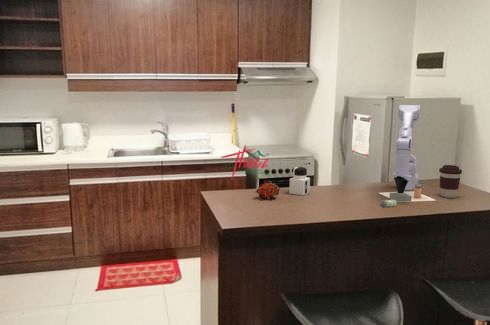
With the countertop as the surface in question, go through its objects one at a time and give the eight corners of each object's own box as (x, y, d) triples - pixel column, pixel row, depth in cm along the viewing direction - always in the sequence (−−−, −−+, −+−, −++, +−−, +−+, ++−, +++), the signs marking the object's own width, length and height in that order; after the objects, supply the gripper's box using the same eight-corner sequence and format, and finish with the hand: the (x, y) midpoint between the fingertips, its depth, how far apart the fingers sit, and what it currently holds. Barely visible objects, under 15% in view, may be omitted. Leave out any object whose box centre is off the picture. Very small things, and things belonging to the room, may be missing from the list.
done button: (401, 197, 201) (402, 191, 201) (406, 199, 198) (406, 193, 197) (394, 198, 201) (394, 191, 200) (398, 200, 197) (398, 193, 197)
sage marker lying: (392, 205, 191) (393, 198, 191) (396, 208, 188) (397, 200, 187) (380, 206, 190) (380, 199, 190) (383, 208, 187) (384, 200, 186)
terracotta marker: (414, 195, 205) (415, 183, 204) (422, 197, 203) (423, 184, 202) (412, 197, 202) (413, 185, 201) (420, 198, 201) (421, 186, 199)
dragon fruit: (281, 201, 204) (257, 206, 203) (276, 188, 210) (253, 192, 208) (283, 189, 198) (257, 194, 196) (277, 176, 204) (253, 181, 202)
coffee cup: (437, 197, 206) (440, 167, 204) (436, 193, 215) (439, 163, 213) (460, 199, 202) (463, 168, 200) (458, 195, 211) (461, 165, 209)
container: (309, 192, 215) (310, 167, 213) (303, 195, 209) (304, 169, 207) (295, 190, 219) (296, 165, 217) (289, 193, 213) (289, 167, 211)
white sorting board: (415, 192, 216) (415, 186, 215) (436, 202, 198) (437, 195, 198) (378, 194, 212) (378, 187, 212) (396, 203, 195) (396, 196, 194)
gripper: (386, 161, 203) (385, 189, 205) (402, 167, 189) (400, 197, 191) (400, 161, 204) (398, 189, 206) (417, 166, 190) (415, 196, 192)
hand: (400, 192), depth 199 cm, fingers closed, pressing on done button
